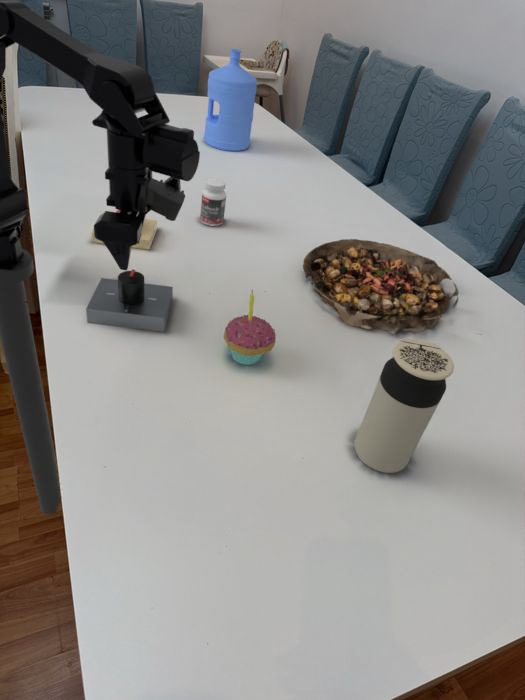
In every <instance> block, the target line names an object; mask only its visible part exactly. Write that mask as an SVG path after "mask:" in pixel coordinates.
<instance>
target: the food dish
mask: <svg viewBox="0 0 525 700" xmlns="http://www.w3.org/2000/svg"><path fill="white" fill-rule="evenodd" d="M302 269H303V272H304V274H305V279H306V280H307V279H308V278H309V277H310V278H311V280H310V279H309V283H310V284H311V286H313V289H314V292H315V293H317V294H318V297H321V298H322V299H321V300H322V302H324V303H325V304H329V306H332V307H333V309H334V311H336V312H337V313H338V315H339V316H340V318H341V320H342V321H343V322H344V323H345V324H346V325H349V326H352V327H356V328H357V327H360V328H362V329H366V330H371V329H377V330H381V331H386V332H389V333H390V334H393V335H396V334H397V333H398V332H412V333H421V332H422V331H424V330H428V329H430V330H431V329H433V328H434V326H436V325H437V323H438V321H440V318H441V317H443V315H442V314H445V313H446V312H447V310H448V309H449V308H450V304H451V300H452V298H453V297H456V300H455V301H454V302H453V304H452V308H453V309H454V308H456V307H457V305H458V303H459V288H458V286H457V285H456V283H455V281H452V280H453V279H452V277H451V275H450V274H449V273H448V272H447V271H446V269H444V268H443V267H441V266H439V265H438V263H437V262H436V261H435V260H434V259H431V258H429V257H426V256H423V255H421V254H418V253H415V252H413V251H411V250H408V249H405V248H402V247H399V246H396V245H392V244H389V243H384V242H382V243H381V242H377V241H373V240H365V239H356V238H349V239H347V238H346V239H339V240H334V241H330V242H325V243H322V244H320V245H318V246H316V247H314V248H313V249H311V250H310V251H308V253H307V254H306V255H305V257H304V259H303V264H302ZM445 279H448V280H450V281H452V284H453V287H454V292H453V293H452V294H451V296H450V294H449V293H446V290H444V287H442V286H441V285H440V284H441V282H442V281H444V280H445Z"/></svg>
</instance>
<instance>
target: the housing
mask: <svg viewBox="0 0 525 700" xmlns="http://www.w3.org/2000/svg"><path fill="white" fill-rule="evenodd" d="M157 230H158V220H157V219H150V218H145V220H144V224H143V229H142V233H141V234H142V236H141V238H140V241H139V244H136V245H133V246H132V248H133V249H139V250H140V249H141V250H150V249H151V246H152V243H153V242H154V239H155V236H156V233H157ZM91 239H92V240H91V241H92V243H94V244H95V243H96V244H101V245H105V244H104V243H103V242H102V241H100V240H97V239H96V238H95V236H94V229H93V230H92V232H91Z"/></svg>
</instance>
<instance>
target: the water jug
mask: <svg viewBox="0 0 525 700" xmlns="http://www.w3.org/2000/svg"><path fill="white" fill-rule="evenodd" d="M241 53H242V50H239V49H237V48H236V49H235V48H230V55H229V63H228V64H226V65H224V66H221V67H218V68H215V69H213V70H210V71H209V72H208V79H207V97H208V103H207V115H206V117H205V122H204V133H203V140H204V142H205V143H206V144H207V145H208V146H209V147H212V148H215V149H218V150H223V151H228V152H230V151H231V152H240V151H244V150H246V149H248V148H249V146H250V145H251V144H250V143H251V132H252V125H253V121H254V120H253V119H254V109H255V101H256V94H257V89H258V88H257V87H258V86H257V84H258V79H257V78H256V76H255V77H254V76H253V75H252V74H251V73H249V72H248V71H247V70H245V68H243V67H242V66H241V64H240V60H241ZM215 102H217V103H218V106H219V108H218V114H214V104H215Z"/></svg>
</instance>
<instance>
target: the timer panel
mask: <svg viewBox="0 0 525 700" xmlns="http://www.w3.org/2000/svg"><path fill="white" fill-rule="evenodd" d="M144 292H145V297H144V300H143V301H142V302H140V303H136V304H127V303H124V302H122V301H121V300H120V299H119V294H118V279H113V278H106V277H101V278H100V279H99V282H98V284H97V285H96V287H95V290H94V291H93V294H92V296H91V298H90V299H89V301H88V304H87V306H86V308H85V311H86V322H87V324H91V325H92V324H93V325H100V326H109V327H117V328H118V327H119V328H125V329H126V328H127V329H136V330H144V331H151V332H159V333H160V332H161V333H164V332H165V330H166V326H167V322H168V318H169V316H170V315H169V314H170V311H171V307H172V304H173V295H174V294H173V293H174V287H173V286H170V285H161V284H154V283H146V282H144Z"/></svg>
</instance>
